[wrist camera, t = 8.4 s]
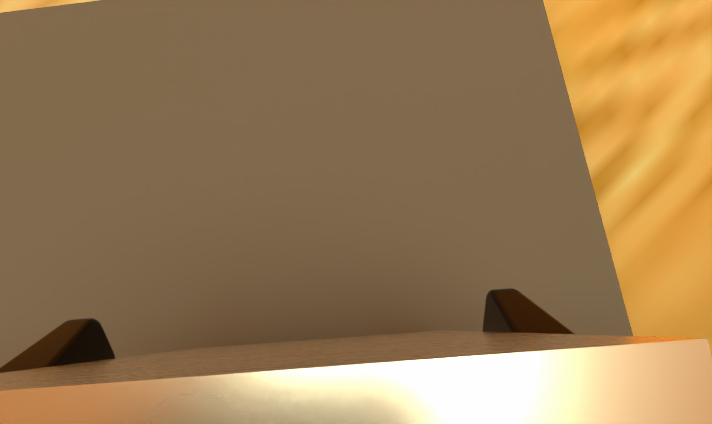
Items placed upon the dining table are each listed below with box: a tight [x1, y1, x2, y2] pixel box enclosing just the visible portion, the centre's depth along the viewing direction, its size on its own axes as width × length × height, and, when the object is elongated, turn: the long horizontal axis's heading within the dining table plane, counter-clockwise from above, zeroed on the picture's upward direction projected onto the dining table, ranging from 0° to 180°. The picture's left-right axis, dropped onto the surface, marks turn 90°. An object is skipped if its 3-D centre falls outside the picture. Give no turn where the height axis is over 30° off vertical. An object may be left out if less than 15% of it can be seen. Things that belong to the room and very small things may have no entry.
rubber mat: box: [0, 0, 633, 367], centre depth 14 cm, size 18×18×1 cm
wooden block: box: [0, 330, 712, 424], centre depth 7 cm, size 2×6×9 cm, turn 94°
